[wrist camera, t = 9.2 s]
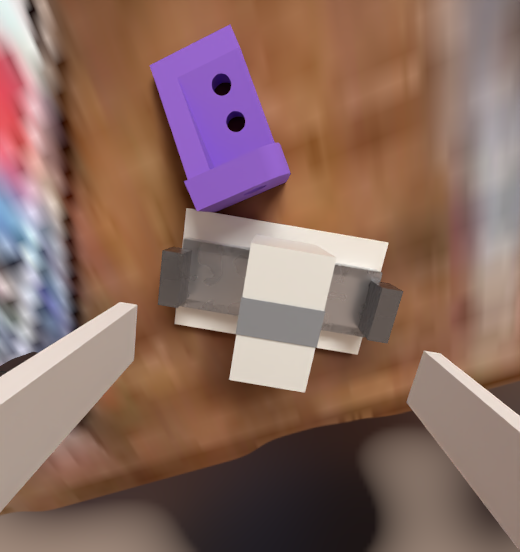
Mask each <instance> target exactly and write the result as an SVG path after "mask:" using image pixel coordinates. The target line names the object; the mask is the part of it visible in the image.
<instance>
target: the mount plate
mask: <svg viewBox="0 0 520 552" xmlns="http://www.w3.org/2000/svg"><path fill="white" fill-rule="evenodd" d="M256 234H257V235H263V236H269V237H274V238H280V239H286V240H292V241H298V242H304V243H310V244H315V245H317V246H319V247H320V248H322V249H324V250H325V251H327V252H328V253H330V254H332V255H333V256H335V257H337V258H336V263H341V264H347V265H353V266H359V267H365V268H370V269H376V270H378V271H380V272H381V269H382V265H383V261H384V258H385V254H386V251H387V247H388V243H387V242H382V241H376V240H371V239H365V238H359V237H353V236H347V235H342V234H336V233H330V232H324V231H318V230H312V229H307V228H301V227H295V226H289V225H283V224H278V223H272V222H266V221H260V220H254V219H249V218H243V217H237V216H231V215H225V214H220V213H214V212H202V211H197V210H196V209H190V208H186V217H185V226H184V236H183V242H184V239H185V238H195V239H201V240H207V241H213V242H218V243H224V244H230V245H236V246H242V247H248V248H250V246H251V242H252V240H253V239H254V237H255V236H256ZM182 248H183V246H182ZM237 322H238V316H235V315H229V314H223V313H217V312H211V311H205V310H199V309H193V308H188V307H182V306H179V307H178V308H176V315H175V324H178V325H184V326H190V327H196V328H202V329H208V330H214V331H220V332H226V333H232V334H236V328H237ZM361 341H362V337H359V336H353V335H348V334H342V333H336V332H330V331H324V330H321V332H320V336H319V340H318V345H317V348H321V349H327V350H333V351H339V352H345V353H351V354H357V355H358V351H359V348H360V344H361Z"/></svg>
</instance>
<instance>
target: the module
mask: <svg viewBox="0 0 520 552" xmlns="http://www.w3.org/2000/svg"><path fill="white" fill-rule="evenodd" d="M336 258H337V257H335V256H333V255H332V254H330V253H328V252H327V251H325V250H324V249H322V248H320V247H319V246H317V245H315V244H310V243H304V242H298V241H292V240H286V239H280V238H274V237H269V236H263V235H257V234H256V236H255V237H254V239H253V240H252V242H251V246H250V252H249V258H248V265H247V271H246V277H245V283H244V290H243V294H242V297H241V303H240V309H239V315H238V322H237V328H236V340H235V346H234V352H233V359H232V365H231V371H230V378H229V380H233V381H239V382H245V383H251V384H257V385H263V386H269V387H275V388H281V389H287V390H293V391H299V392H305V390H306V386H307V381H308V377H309V373H310V369H311V365H312V360H313V356H314V352H315V348H317V345H318V340H319V336H320V332H321V328H322V323H323V319H324V315H325V310H324V309H325V305H326V301H327V297H328V292H329V288H330V284H331V280H332V275H333V271H334V267H335V263H336Z"/></svg>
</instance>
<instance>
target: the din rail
mask: <svg viewBox="0 0 520 552" xmlns="http://www.w3.org/2000/svg"><path fill="white" fill-rule="evenodd" d="M249 252H250V248H248V247H242V246H236V245H230V244H224V243H218V242H213V241H207V240H201V239H195V238H185V239H184V242H183V248H178V247H171V248H168V249H165V250H163V251H162V263H161V275H160V287H159V298H158V305H163V306H169V307H175V308H178V307H179V306H182V307H188V308H193V309H199V310H205V311H211V312H217V313H223V314H229V315H235V316H238V315H239V309H240V303H241V297H242V294H243V290H244V283H245V277H246V271H247V265H248V258H249ZM381 277H382V272H380V271H378V270H376V269H370V268H365V267H359V266H353V265H347V264H341V263H335V267H334V271H333V275H332V280H331V284H330V288H329V292H328V297H327V301H326V305H325V309H324V310H325V315H324V319H323V323H322V328H321V330H324V331H330V332H336V333H342V334H348V335H353V336H359V337H366V338H367V340H370V341H376V342H382V343H388V340H389V337H390V333H391V330H392V327H393V323H394V320H395V317H396V314H397V310H398V307H399V304H400V300H401V297H402V294H403V291H402V290H400V289H398V288H396V287H395V286H393V285H391V284H389V283H383V282H380V280H381Z"/></svg>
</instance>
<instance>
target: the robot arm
mask: <svg viewBox="0 0 520 552" xmlns="http://www.w3.org/2000/svg"><path fill="white" fill-rule="evenodd" d="M136 320H137V305H135V304H129V303H123V302H120V303H118V304H116V305H115V306H113V307H112V308H110V309H108V310H107V311H105V312H103V313H102V314H100V315H99V316H97V317H95V318H94V319H92V320H91V321H89V322H87V323H86V324H84V325H83V326H81V327H79V328H78V329H76V330H75V331H73V332H71V333H70V334H68V335H66V336H65V337H63V338H62V339H60V340H58V341H57V342H55V343H54V344H52V345H50V346H49V347H47V348H46V349H44V350H42V351H41V352H39V353H37V352H31V353H29V354H26V355H23V356H20V357H17V358H15V359H12V360H10V361H8V362H7V363H5V364H3V365H1V366H0V512H1V511H2V510H3V508H4V507H5V506H6V505H7V504H8V503H9V502H10V500H11V499H12V498H13V497H14V496H15V495H16V494H17V492H18V491H19V490H20V489H21V488H22V487H23V486H24V485H25V483H26V482H27V481H28V480H29V479H30V478H31V477H32V475H33V474H34V473H35V472H36V471H37V470H38V469H39V467H40V466H41V465H42V464H43V463H44V462H45V461H46V459H47V458H48V457H49V456H50V455H51V454H52V453H53V452H54V450H55V449H56V448H57V447H58V446H59V445H60V444H61V442H62V441H63V440H64V439H65V438H66V437H67V436H68V434H69V433H70V432H71V431H72V430H73V429H74V428H75V426H76V425H77V424H78V423H79V422H80V421H81V420H82V419H83V417H84V416H85V415H86V414H87V413H88V412H89V411H90V409H91V408H92V407H93V406H94V405H95V404H96V403H97V401H98V400H99V399H100V398H101V397H102V396H103V395H104V393H105V392H106V391H107V390H108V389H109V388H110V387H111V386H112V384H113V383H114V382H115V381H116V380H117V379H118V378H119V376H120V375H121V374H122V373H123V372H124V371H125V370H126V368H127V367H128V366H129V365H130V364H131V363H132V362H133V360H134V350H135V335H136ZM407 403H408V405H409V406H410V407H411V409H412V410H413V411H414V413H415V414H416V415H417V417H418V418H419V419H420V420H421V422H422V423H423V424H424V426H425V427H426V428H427V430H428V431H429V432H430V434H431V435H432V436H433V437H434V439H435V440H436V441H437V443H438V444H439V445H440V447H441V448H442V449H443V451H444V452H445V453H446V455H447V456H448V457H449V459H450V460H451V461H452V462H453V464H454V465H455V466H456V468H457V469H458V470H459V472H460V473H461V474H462V476H463V477H464V478H465V479H466V481H467V482H468V483H469V485H470V486H471V487H472V489H473V490H474V491H475V493H476V494H477V495H478V497H479V498H480V499H481V500H482V502H483V503H484V504H485V506H486V507H487V508H488V510H489V511H490V512H491V514H492V515H493V516H494V518H495V519H496V520H497V521H498V523H499V524H500V525H501V527H502V528H503V529H504V531H505V532H506V533H507V535H508V536H509V537H510V538H511V540H512V541H513V542H514V544H515V545H516V546H517V547H518V549H519V550H520V416H519V415H518V414H516V413H515V412H514V411H513V410H511V409H510V408H509V407H508V406H506V405H505V404H504V403H502V402H501V401H500V400H499V399H497V398H496V397H495V396H494V395H492V394H491V393H490V392H489V391H487V390H486V389H485V388H483V387H482V386H481V385H480V384H478V383H477V382H476V381H475V380H473V379H472V378H471V377H469V376H468V375H467V374H466V373H464V372H463V371H462V370H461V369H459V368H458V367H457V366H456V365H454V364H453V363H452V362H450V361H449V360H448V359H447V358H445V357H444V356H443V355H442V354H440V353H435V352H428V351H424V352H423V355H422V358H421V361H420V364H419V367H418V370H417V373H416V376H415V379H414V382H413V384H412V387H411V390H410V393H409V396H408V399H407Z"/></svg>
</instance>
